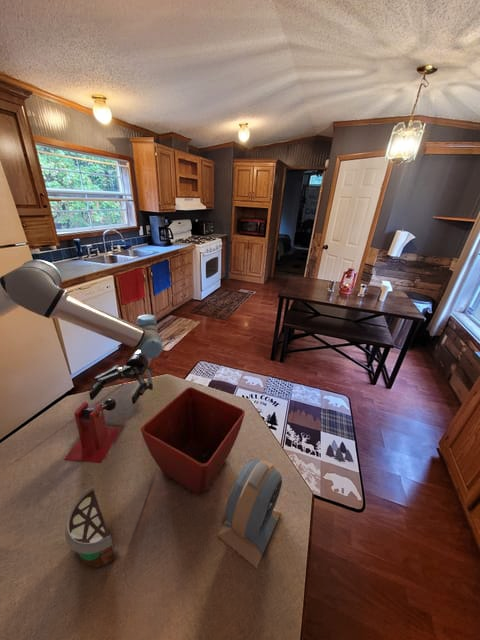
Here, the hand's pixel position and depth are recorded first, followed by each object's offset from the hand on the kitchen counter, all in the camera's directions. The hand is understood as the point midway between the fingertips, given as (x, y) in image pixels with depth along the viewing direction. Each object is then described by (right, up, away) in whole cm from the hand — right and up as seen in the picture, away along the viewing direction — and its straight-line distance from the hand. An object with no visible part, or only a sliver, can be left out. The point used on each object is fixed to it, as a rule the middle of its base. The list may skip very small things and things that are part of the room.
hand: (111, 398), depth 80 cm
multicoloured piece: (+11, -22, -29) cm, 38 cm away
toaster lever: (0, -3, -6) cm, 7 cm away
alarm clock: (+43, -22, -22) cm, 53 cm away
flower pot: (+28, -15, -10) cm, 34 cm away
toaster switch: (-1, -11, -7) cm, 13 cm away
